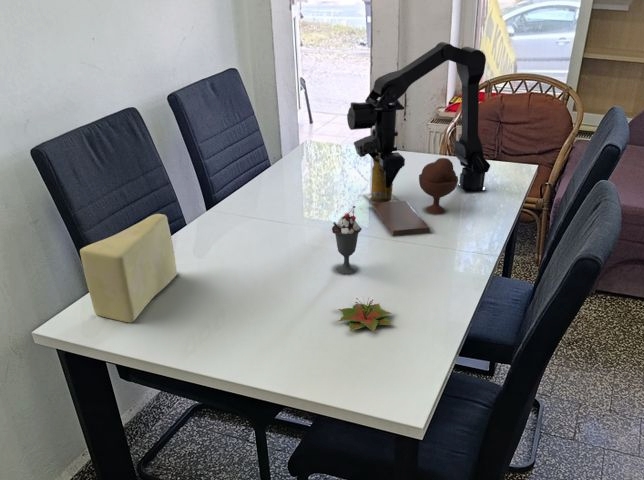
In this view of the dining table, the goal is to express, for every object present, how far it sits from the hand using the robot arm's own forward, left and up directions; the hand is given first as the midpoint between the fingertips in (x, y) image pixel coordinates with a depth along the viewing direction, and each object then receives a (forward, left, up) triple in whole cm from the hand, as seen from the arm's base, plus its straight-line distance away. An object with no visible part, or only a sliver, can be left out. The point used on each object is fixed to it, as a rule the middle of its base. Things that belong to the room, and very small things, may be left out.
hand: (382, 182), depth 187 cm
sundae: (+22, +42, -5) cm, 48 cm away
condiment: (0, 0, -5) cm, 5 cm away
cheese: (+67, +45, -5) cm, 80 cm away
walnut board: (0, +16, -5) cm, 17 cm away
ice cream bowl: (-12, +12, -5) cm, 18 cm away
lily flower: (+24, +65, -5) cm, 69 cm away
